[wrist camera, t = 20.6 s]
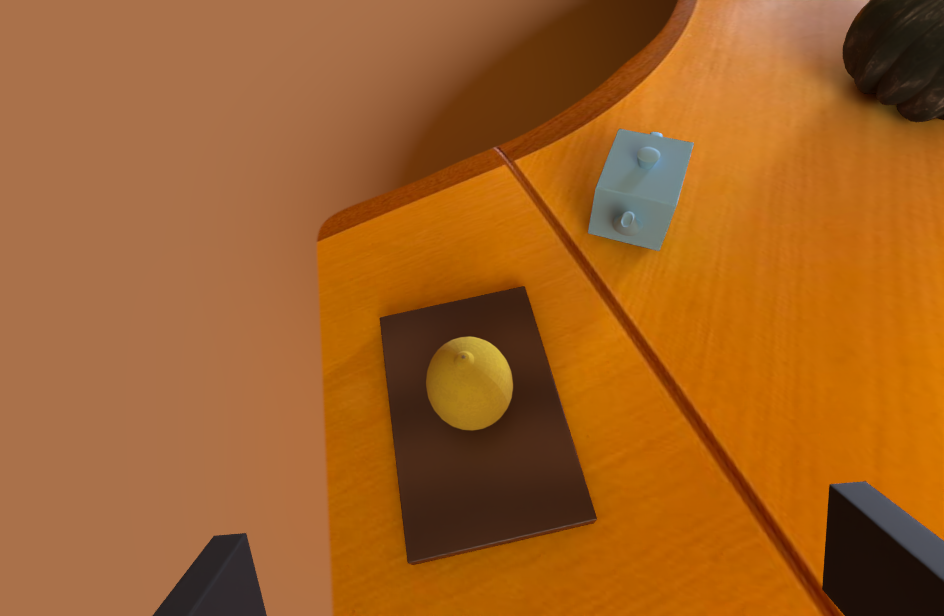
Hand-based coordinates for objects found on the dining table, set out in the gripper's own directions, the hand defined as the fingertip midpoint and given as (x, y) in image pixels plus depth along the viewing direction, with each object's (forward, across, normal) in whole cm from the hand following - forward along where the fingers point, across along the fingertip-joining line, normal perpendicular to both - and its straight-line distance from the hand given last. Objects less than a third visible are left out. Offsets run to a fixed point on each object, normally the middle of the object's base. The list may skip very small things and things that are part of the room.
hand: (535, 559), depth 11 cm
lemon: (+23, -2, -7) cm, 24 cm away
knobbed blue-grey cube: (+35, +12, +3) cm, 37 cm away
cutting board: (+24, -2, -8) cm, 25 cm away
